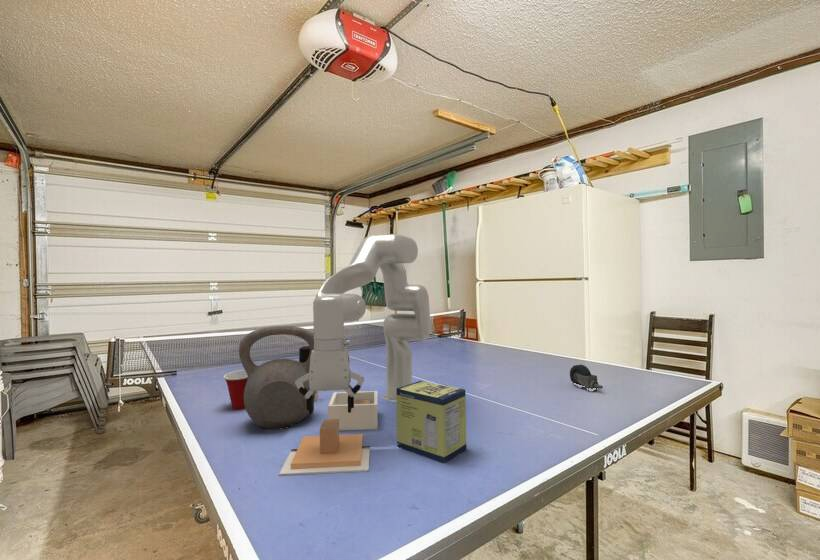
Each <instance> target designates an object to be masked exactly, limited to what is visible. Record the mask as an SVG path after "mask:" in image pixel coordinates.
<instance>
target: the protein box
mask: <svg viewBox="0 0 820 560" xmlns="http://www.w3.org/2000/svg"><path fill="white" fill-rule="evenodd" d="M396 389H397V402H396V444H397V445H396V446H397V448H400V449H402V450H406V451H408V452H412V453H414V454H417V455H419V456H423V457H424V458H425V457H426V458H427V459H431V460H434V461H437V462H439V463H442V464H446V462H448V461H450V460H451V459H453V458H455V457H456V456H458V455H459V454H460V453H462V452H464V451H465V450H467V448H468V446H467V445H468V444H467V409H466V408H467V407H466V405H467V404H466V403H467V400H466V395H467V394H466V389H465V388H459V387H456V386H448V385H443V384H439V383H433V382H428V381H424V380H419V381H416V382H412V384H409V385H406V386H403V387H399V388H396Z"/></svg>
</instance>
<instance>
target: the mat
mask: <svg viewBox="0 0 820 560" xmlns="http://www.w3.org/2000/svg"><path fill="white" fill-rule="evenodd" d="M370 447H371V446H370V445H364V446H363V445H362V455H361V466H342V467H322V468H303V469H291V462H292V460H293V458H294V456H295V454H296V451H297V449H298V448H296V449H295V448H292V449H290V451H289V454H288V456H287V458H286V460H285V462H284V463H283V465H282V468H281V470H280V472H279V473H278V474H279V475H278V477H279V476H280V477H281V476H297V475H298V476H299V475H319V474H320V475H322V474H340V473H341V474H342V473H359V472H360V473H363V472H369V469H370V453H371V452H370V451H371V448H370Z"/></svg>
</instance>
